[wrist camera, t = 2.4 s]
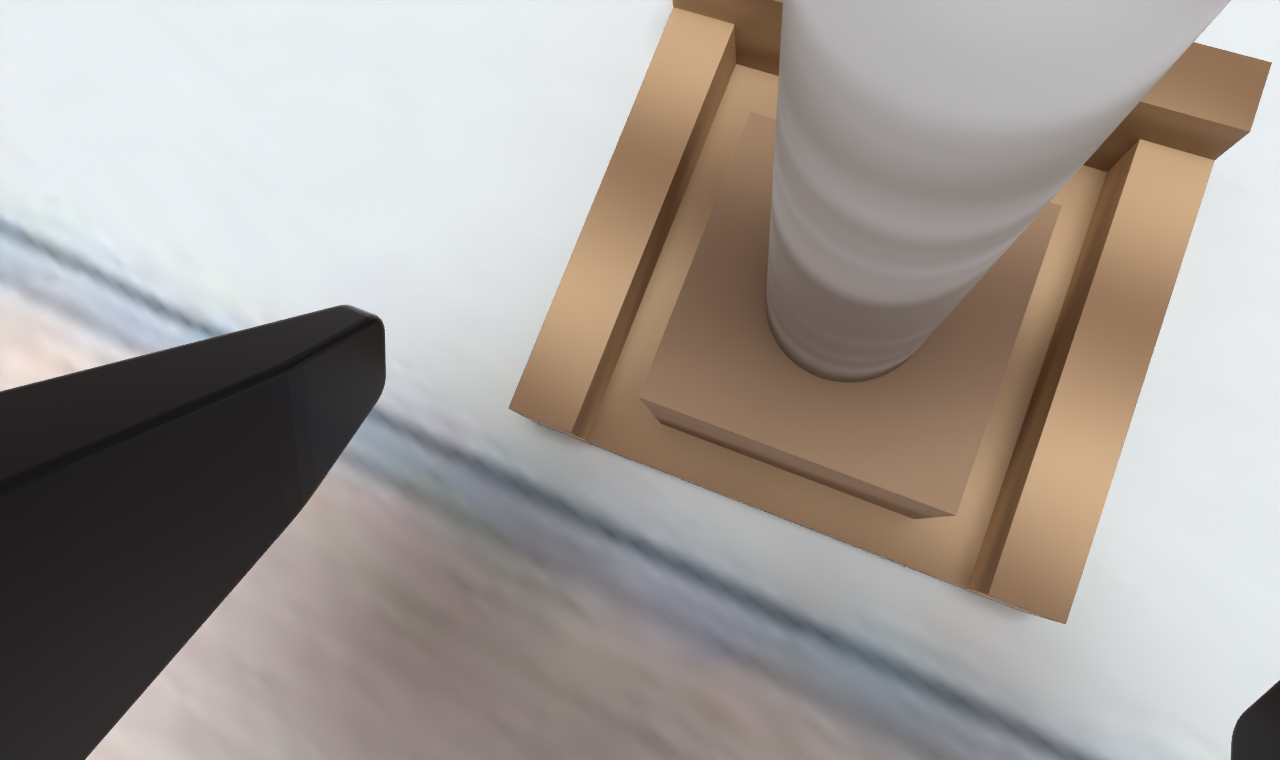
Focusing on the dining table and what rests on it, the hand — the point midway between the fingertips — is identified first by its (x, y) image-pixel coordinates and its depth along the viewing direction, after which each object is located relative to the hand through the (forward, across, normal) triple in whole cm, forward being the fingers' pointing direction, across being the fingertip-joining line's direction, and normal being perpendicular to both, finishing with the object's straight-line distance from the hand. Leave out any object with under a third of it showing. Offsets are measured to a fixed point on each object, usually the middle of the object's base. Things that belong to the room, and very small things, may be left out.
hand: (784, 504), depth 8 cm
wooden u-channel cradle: (+13, 0, +4) cm, 13 cm away
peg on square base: (+11, 0, +5) cm, 12 cm away
